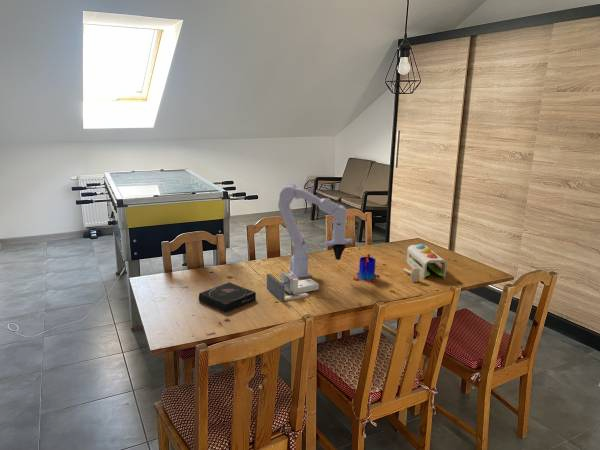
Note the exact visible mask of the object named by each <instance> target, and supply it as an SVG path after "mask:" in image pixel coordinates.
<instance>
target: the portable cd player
mask: <svg viewBox="0 0 600 450" xmlns="http://www.w3.org/2000/svg"><path fill="white" fill-rule="evenodd" d="M256 293H257V292H255V291H253V290H251V289H247V288H245V287H243V286H240V285H238V284H234V283H232V282H230V281H229V282H226V283H224V284H221V285H218V286H216V287H213V288H209V289H208V290H204V291H202V292H199V294H198V302H200V303H202V304H205V305H207V306H210V307H212V308H214V309H216V310H219V311H221V312H224V313H225V314H227V313H229V312H231V311H234V310H236V309H239V308H241V307H243V306H246V305H247V304H250V303H253V302H255V301H257V298H256V296H257V295H256Z"/></svg>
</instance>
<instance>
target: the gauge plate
mask: <svg viewBox="0 0 600 450" xmlns="http://www.w3.org/2000/svg"><path fill="white" fill-rule="evenodd" d="M288 274H289V273H287V272H285V271H280V282H281V283H282V284H284V285H285V292H287V293H288V294H289V295H295V294H293V279H294V277H293V276H292V277H291V276H290V275H288Z"/></svg>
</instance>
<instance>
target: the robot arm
mask: <svg viewBox="0 0 600 450" xmlns="http://www.w3.org/2000/svg"><path fill="white" fill-rule="evenodd" d="M278 199H279V200H278V204H277V208H278V210H279V212H280V215H281V217H282V220H283V223H284V224H285V227H286V229H287V232H288V235H289V238H290V240H291V247H292V256H291V257H290V259H289V260H290V261H289V265H290V266H289V267H290V268H289V270H288V274H292V277H295V279H301V278H307V277H312V274H311V273H310V272H309V255H308V252H309V250H310V245H309V243H307V242H306V240H305V238H304V237H303V236H302V234H301V232H300V229H299V227H298V224H297V221H296V219H295V216H294V215H293V211H292V209H291V203H292V201H293V200H294V199H295V200H298V199H303V200H306V201H308V202H309V203H312V204H315V205H316V206H318V209H319V210H320V211H322V212H324V213H326V214H328V215H330V216H332V217H333V221H332V222H333V223H332V239H331V240H328V241H324V242H323V243H324V247H326V248H328V247H332V250H333V253H334V258H335V260H336V261H339V260H341V258H342V255H343V252H344V250H346V247H347V246H346V244H347V245H348V244H353V242H354V241H353V240H354V239H353V238H351V237H350V238H346V225H347V223H346V222H347V221H346V220H347V219H346V216H347V208H346V207H345V206H344V205H343V204H339V203H335V202H334V201H332V200H331V199H330V198H328V197H327V198H325V197H324V198H323V197H322V198H320V197H318V196H317V195H316V194H315V195H314V194H313V193H312V192H310V191H308V190H306V189H304V188H303V187H301V186H298V185H296V184H294V183H289V184H287V185H286V186H285V187H283V188H282V190H281V192H280V193H279V198H278Z"/></svg>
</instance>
